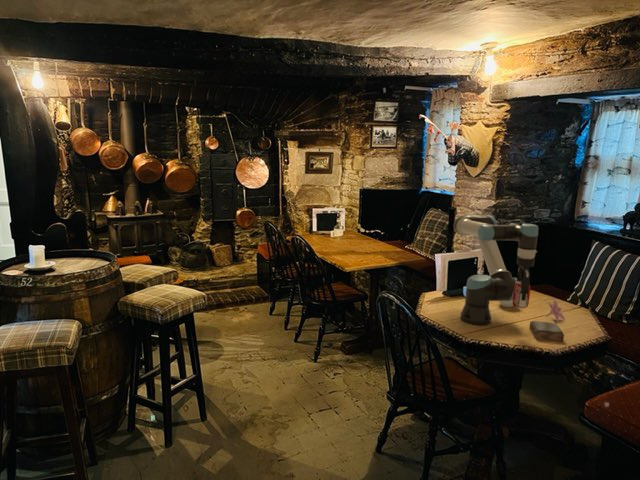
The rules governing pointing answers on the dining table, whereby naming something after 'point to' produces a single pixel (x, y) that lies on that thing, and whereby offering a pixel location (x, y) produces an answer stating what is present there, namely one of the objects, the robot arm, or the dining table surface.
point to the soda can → (517, 295)
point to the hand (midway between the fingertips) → (520, 303)
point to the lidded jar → (507, 303)
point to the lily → (556, 311)
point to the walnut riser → (546, 331)
